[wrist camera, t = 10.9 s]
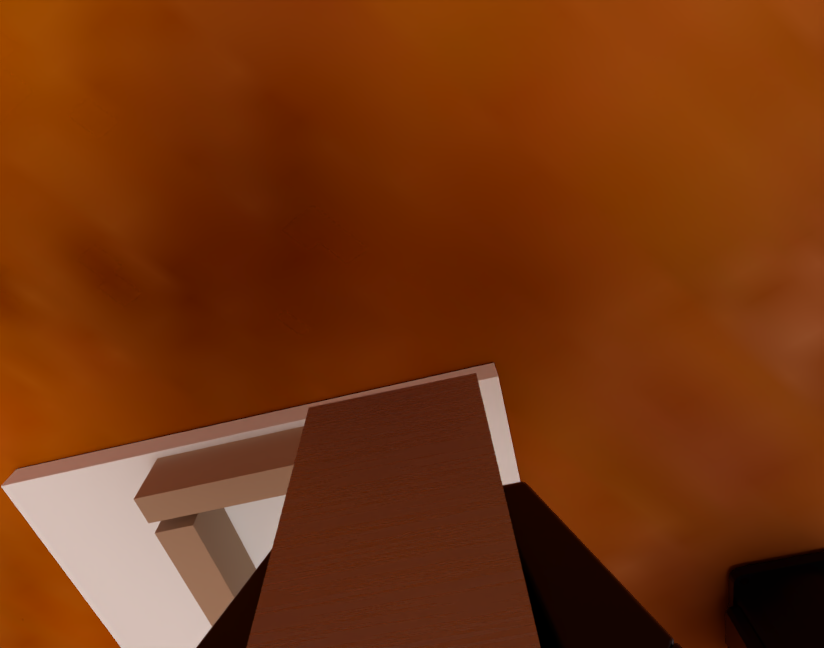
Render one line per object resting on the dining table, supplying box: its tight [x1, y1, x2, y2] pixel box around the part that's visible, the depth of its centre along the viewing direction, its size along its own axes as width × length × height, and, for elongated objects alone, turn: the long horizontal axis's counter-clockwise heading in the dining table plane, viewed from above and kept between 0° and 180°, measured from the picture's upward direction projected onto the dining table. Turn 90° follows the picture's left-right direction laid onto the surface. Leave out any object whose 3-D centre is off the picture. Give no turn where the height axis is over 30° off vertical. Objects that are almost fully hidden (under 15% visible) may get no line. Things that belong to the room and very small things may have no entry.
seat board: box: [1, 363, 520, 648], centre depth 24 cm, size 20×14×3 cm
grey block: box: [246, 373, 541, 648], centre depth 7 cm, size 3×3×7 cm
